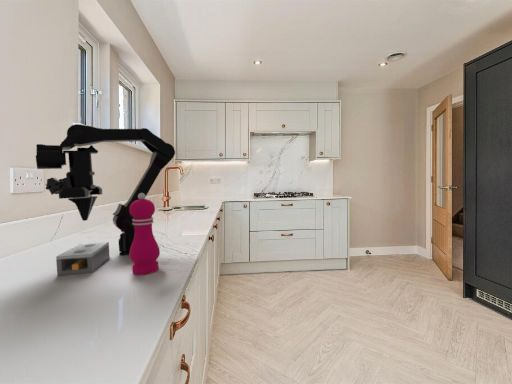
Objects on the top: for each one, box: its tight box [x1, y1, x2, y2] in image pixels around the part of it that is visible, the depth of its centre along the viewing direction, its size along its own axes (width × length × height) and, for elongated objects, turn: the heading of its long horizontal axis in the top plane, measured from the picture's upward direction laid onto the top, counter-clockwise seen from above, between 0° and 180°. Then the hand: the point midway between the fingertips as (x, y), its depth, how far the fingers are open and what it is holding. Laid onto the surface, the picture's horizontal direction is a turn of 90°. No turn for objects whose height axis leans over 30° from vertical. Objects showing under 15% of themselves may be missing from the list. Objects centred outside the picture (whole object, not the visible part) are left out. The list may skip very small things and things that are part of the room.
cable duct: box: [55, 245, 111, 276], centre depth 77 cm, size 8×14×4 cm, turn 12°
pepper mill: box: [128, 193, 161, 276], centre depth 70 cm, size 7×7×20 cm
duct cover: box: [55, 241, 110, 260], centre depth 76 cm, size 8×14×1 cm, turn 12°
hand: (85, 220), depth 83 cm, fingers closed
